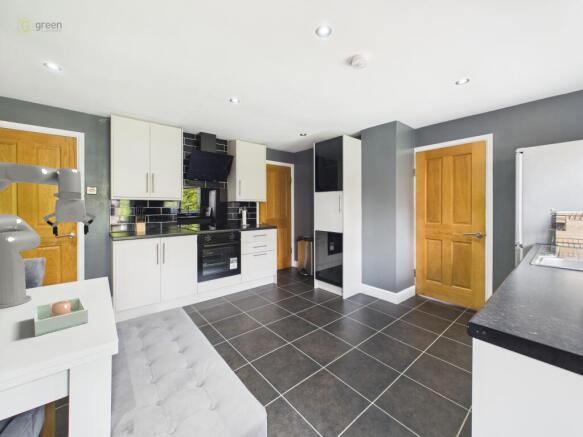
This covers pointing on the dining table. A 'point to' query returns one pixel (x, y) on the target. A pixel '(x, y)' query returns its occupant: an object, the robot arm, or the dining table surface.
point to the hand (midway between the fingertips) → (71, 235)
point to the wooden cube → (55, 303)
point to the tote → (59, 317)
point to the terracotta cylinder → (60, 308)
